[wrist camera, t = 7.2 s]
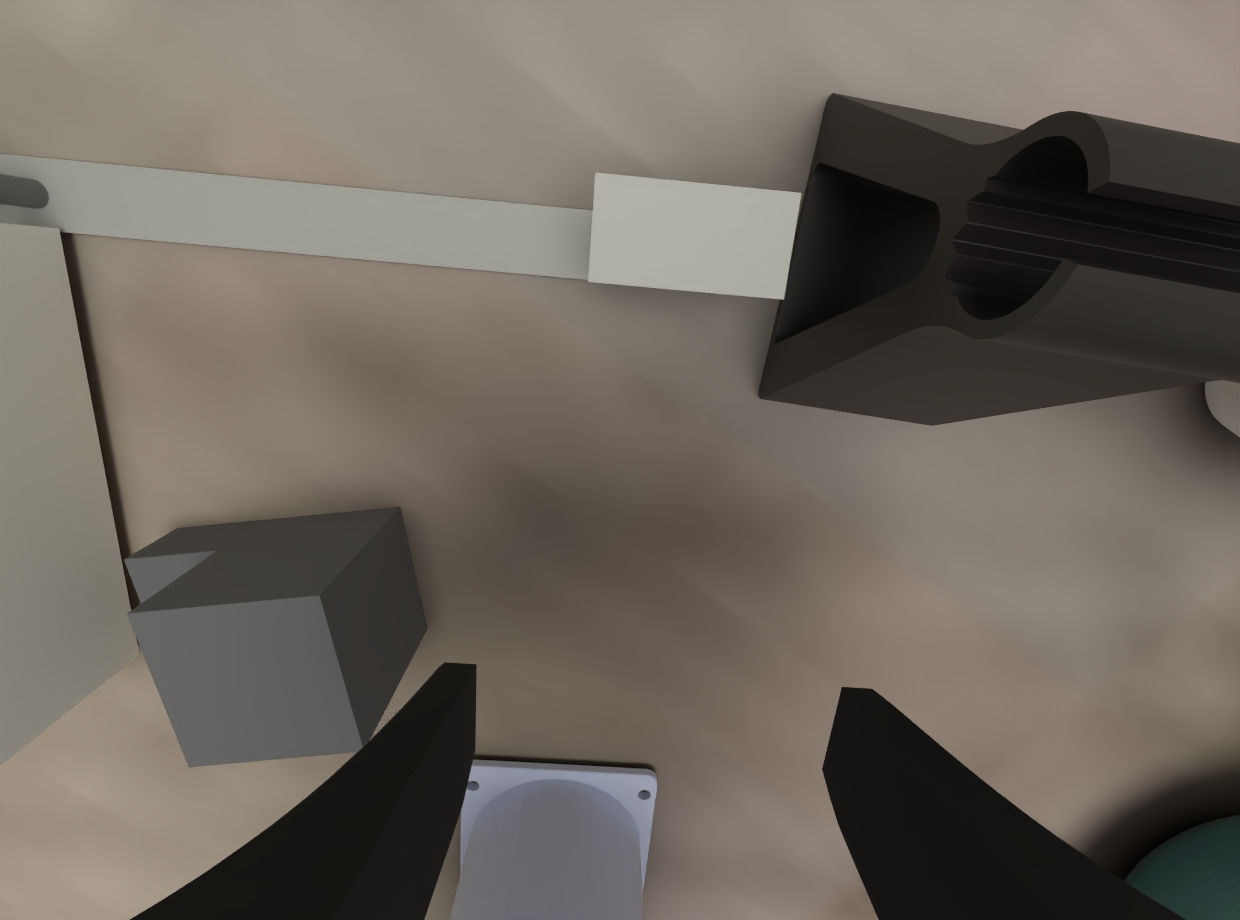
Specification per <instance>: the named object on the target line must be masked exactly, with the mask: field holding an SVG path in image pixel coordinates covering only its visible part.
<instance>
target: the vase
mask: <svg viewBox="0 0 1240 920" xmlns="http://www.w3.org/2000/svg"><path fill="white" fill-rule="evenodd" d="M1124 882H1126V883H1127V884H1129V885H1130V886H1132V887H1133V888H1135V889H1137V890H1138V891H1140V892H1142V893H1143V894H1145V895H1147V896H1148V897H1150V898H1151V899H1153V900H1155V901H1156V902H1158V903H1160V904H1161V905H1163V906H1165V907H1166V908H1168V909H1169V910H1171V911H1173V912H1174V913H1176V914H1178V915H1179V916H1181V917H1183V918H1184V919H1186V920H1240V815H1235V816H1231V817H1226V818H1221V819H1217V820H1213V821H1210V822H1207V823H1204V824H1200V825H1197V826H1195V827H1193V828H1190V829H1188V830H1186V831H1183V832H1181V833H1179V834H1177V835H1176V836H1174V837H1172V838H1170V839H1169V840H1167V841H1165V842H1164V843H1162V844H1161V845H1159V846H1158V847H1156V848H1155V849H1154V850H1152V851H1151V852H1150V853H1149V854H1147V855H1146V856H1145V857H1144V858H1143V859H1142V860H1141V861H1140V862H1139V863H1138V864H1137V865H1136V866H1135V867H1134V868H1133V869H1132V871H1131V872H1130V873H1129V874H1128V875H1127V877H1126V878H1125V880H1124Z"/></svg>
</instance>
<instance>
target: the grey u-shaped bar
mask: <svg viewBox="0 0 1240 920" xmlns="http://www.w3.org/2000/svg"><path fill="white" fill-rule="evenodd" d="M800 199H801V193H797V192H787V191H777V190H767V189H757V188H747V187H736V186H726V185H716V184H706V183H696V182H686V181H676V180H666V179H655V178H645V177H635V176H625V175H615V174H605V173H595V186H594V200H593V210H582V209H572V208H561V207H551V206H540V205H530V204H520V203H509V202H499V201H488V200H478V199H467V198H457V197H447V196H436V195H426V194H415V193H405V192H394V191H384V190H374V189H363V188H353V187H342V186H332V185H321V184H311V183H301V182H290V181H280V180H269V179H259V178H248V177H238V176H228V175H217V174H207V173H196V172H186V171H175V170H165V169H155V168H144V167H134V166H123V165H113V164H102V163H92V162H82V161H71V160H61V159H50V158H40V157H29V156H19V155H9V154H0V223H5V224H16V225H27V226H38V227H49V228H59V231H60V232H66V233H77V234H88V235H99V236H110V237H121V238H132V239H143V240H154V241H165V242H176V243H187V244H198V245H209V246H220V247H231V248H242V249H253V250H264V251H275V252H286V253H297V254H308V255H319V256H330V257H341V258H352V259H364V260H375V261H386V262H397V263H408V264H419V265H430V266H441V267H452V268H463V269H474V270H485V271H496V272H507V273H518V274H529V275H540V276H551V277H562V278H573V279H584V280H588V282H595V283H606V284H617V285H628V286H639V287H650V288H661V289H672V290H683V291H694V292H705V293H716V294H727V295H738V296H749V297H760V298H771V299H782V300H784V296H785V290H786V284H787V278H788V272H789V266H790V260H791V254H792V248H793V242H794V236H795V229H796V223H797V217H798V211H799V205H800Z"/></svg>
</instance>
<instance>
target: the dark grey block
mask: <svg viewBox="0 0 1240 920" xmlns="http://www.w3.org/2000/svg"><path fill="white" fill-rule="evenodd" d="M124 561H125V564H126V567H127V569H128V572H129V574H130V577H131V579H132V582H133V584H134V587H135V589H136V592H137V595H138V597H139V600H140V602H141V604H140V605H138V606H137V607H136V608H134V609H133V610H131V611H130V612H128V613H127V615H128V618H129V620H130V623H131V625H132V628H133V630H134V632H135V635H136V637H137V640H138V642H139V645H140V647H141V650H142V652H143V655H144V657H145V660H146V662H147V665H148V667H149V670H150V672H151V675H152V677H153V680H154V682H155V685H156V687H157V689H158V692H159V694H160V697H161V699H162V702H163V704H164V707H165V709H166V712H167V714H168V717H169V719H170V722H171V724H172V727H173V729H174V732H175V734H176V737H177V739H178V742H179V744H180V746H181V749H182V751H183V754H184V756H185V759H186V761H187V764H188V766H189V767H196V766H207V765H218V764H229V763H240V762H251V761H262V760H273V759H284V758H295V757H306V756H317V755H328V754H339V753H350V752H358V751H359V750H360V749H362V748H363V747H364V746H365V745H366V744H367V743H368V742H369V740H370V738H371V736H372V735H373V733H374V731H375V729H376V727H377V725H378V723H379V721H380V719H381V717H382V715H383V713H384V711H385V709H386V707H387V706H388V704H389V702H390V700H391V698H392V696H393V694H394V692H395V690H396V688H397V686H398V684H399V682H400V680H401V678H402V677H403V675H404V673H405V671H406V669H407V667H408V665H409V663H410V661H411V659H412V657H413V655H414V653H415V651H416V650H417V648H418V646H419V644H420V642H421V640H422V638H423V636H424V634H425V632H426V630H427V625H426V620H425V616H424V611H423V607H422V603H421V598H420V594H419V589H418V585H417V580H416V576H415V572H414V567H413V563H412V558H411V554H410V550H409V545H408V541H407V536H406V532H405V527H404V523H403V519H402V514H401V510H400V507H395V508H385V509H375V510H364V511H354V512H343V513H333V514H322V515H312V516H301V517H291V518H281V519H270V520H260V521H249V522H239V523H228V524H218V525H207V526H197V527H187V528H177V529H175V530H174V531H172V532H170V533H169V534H167V535H165V536H163V537H162V538H160V539H158V540H157V541H155V542H153V543H151V544H150V545H148V546H146V547H144V548H143V549H141V550H139V551H138V552H136V553H134V554H132V555H131V556H129V557H127V558H126V559H124Z"/></svg>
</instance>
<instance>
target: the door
mask: <svg viewBox="0 0 1240 920" xmlns="http://www.w3.org/2000/svg"><path fill="white" fill-rule="evenodd" d="M130 611H131V608H130V602H129V597H128V592H127V587H126V581H125V576H124V571H123V565H122V560H121V555H120V549H119V544H118V539H117V533H116V528H115V523H114V517H113V512H112V507H111V502H110V496H109V491H108V486H107V480H106V475H105V470H104V464H103V459H102V454H101V448H100V443H99V438H98V433H97V427H96V422H95V417H94V411H93V406H92V401H91V395H90V390H89V385H88V379H87V374H86V369H85V363H84V358H83V353H82V348H81V342H80V337H79V332H78V326H77V321H76V316H75V310H74V305H73V300H72V294H71V289H70V284H69V278H68V273H67V268H66V263H65V257H64V252H63V247H62V241H61V236H60V231H59V228H49V227H38V226H27V225H16V224H5V223H0V765H2V764H3V763H4V762H5V761H7V760H8V759H9V758H10V757H12V756H13V755H14V754H15V753H17V752H18V751H19V750H20V749H22V748H23V747H24V746H25V745H27V744H28V743H29V742H30V741H32V740H33V739H34V738H35V737H37V736H38V735H39V734H40V733H42V732H43V731H44V730H45V729H47V728H48V727H49V726H50V725H52V724H53V723H54V722H55V721H57V720H58V719H59V718H60V717H62V716H63V715H64V714H65V713H67V712H68V711H69V710H70V709H72V708H73V707H74V706H75V705H77V704H78V703H79V702H80V701H82V700H83V699H84V698H85V697H87V696H88V695H89V694H90V693H92V692H93V691H94V690H95V689H97V688H98V687H99V686H100V685H102V684H103V683H104V682H105V681H107V680H108V679H109V678H110V677H112V676H113V675H114V674H115V673H117V672H118V671H119V670H120V669H122V668H123V667H124V666H125V665H127V664H128V663H129V662H130V661H132V660H133V659H134V658H135V657H137V656H138V655H139V650H138V645H137V640H136V635H135V632H134V630H133V628H132V625H131V623H130V620H129V618H128V615H127V613H128V612H130Z"/></svg>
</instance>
